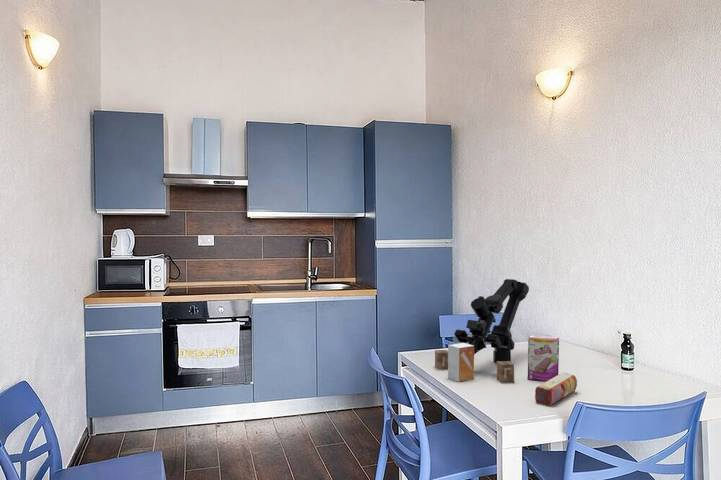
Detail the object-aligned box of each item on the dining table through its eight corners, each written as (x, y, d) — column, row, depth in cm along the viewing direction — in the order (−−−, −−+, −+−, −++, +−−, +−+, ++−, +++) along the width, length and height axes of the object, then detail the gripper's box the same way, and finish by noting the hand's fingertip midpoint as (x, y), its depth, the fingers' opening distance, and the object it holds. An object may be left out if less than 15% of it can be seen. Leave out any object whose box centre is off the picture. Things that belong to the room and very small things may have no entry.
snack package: (552, 407, 172) (552, 387, 171) (532, 403, 176) (532, 383, 176) (577, 393, 187) (577, 374, 187) (559, 389, 192) (559, 370, 191)
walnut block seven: (509, 379, 204) (509, 361, 203) (514, 383, 198) (514, 364, 198) (496, 379, 203) (496, 361, 203) (501, 383, 198) (501, 364, 198)
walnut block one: (446, 366, 222) (446, 349, 222) (449, 369, 217) (449, 352, 217) (434, 366, 222) (435, 350, 222) (437, 370, 217) (437, 353, 217)
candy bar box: (527, 380, 202) (527, 337, 202) (527, 376, 207) (528, 334, 207) (558, 383, 199) (559, 339, 198) (558, 379, 203) (558, 336, 203)
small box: (459, 382, 199) (459, 347, 199) (447, 378, 205) (447, 344, 204) (474, 379, 204) (474, 345, 203) (462, 375, 209) (462, 342, 209)
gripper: (456, 309, 219) (441, 340, 211) (498, 314, 206) (483, 347, 198) (466, 326, 225) (452, 356, 217) (507, 331, 212) (493, 364, 204)
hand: (469, 356), depth 209 cm, fingers closed
